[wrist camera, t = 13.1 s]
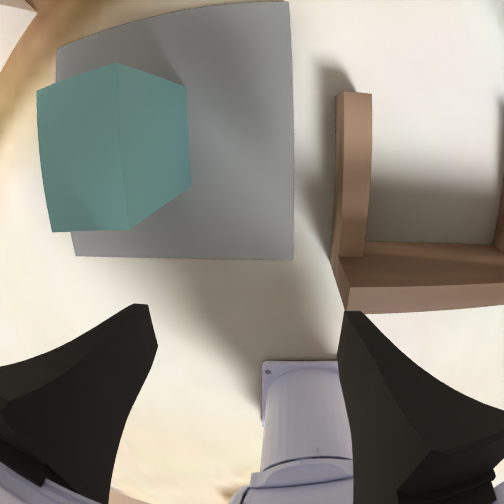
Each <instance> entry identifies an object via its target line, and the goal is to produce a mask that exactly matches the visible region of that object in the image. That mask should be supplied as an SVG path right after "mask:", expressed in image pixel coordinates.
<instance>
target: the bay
mask: <svg viewBox="0 0 504 504" xmlns="http://www.w3.org/2000/svg"><path fill="white" fill-rule="evenodd" d="M335 115H336V147H335V188H334V210H333V227H332V242H331V255H330V264H331V267H332V270H333V273H334V277H335V280H336V283H337V286H338V289H339V292H340V296H341V299H342V302H343V305H344V309H345V311H362V312H363V313H364V314H382V313H405V312H424V311H439V310H452V309H464V308H476V307H486V306H495V305H504V181H503V190H502V197H501V204H500V210H499V216H498V222H497V227H496V232H495V237H494V242H493V245H482V244H450V243H413V242H368V241H365V239H366V230H367V219H368V208H369V194H370V178H371V155H372V94H368V93H358V92H347V91H343V92H341V93H340V94H338V95H336V96H335Z"/></svg>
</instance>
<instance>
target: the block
mask: <svg viewBox="0 0 504 504" xmlns="http://www.w3.org/2000/svg"><path fill="white" fill-rule="evenodd" d="M37 124H38V140H39V152H40V161H41V170H42V178H43V185H44V191H45V197H46V203H47V209H48V214H49V219H50V224H51V229H52V232H72V231H100V230H130V229H132V228H133V227H134V226H136V225H137V224H138V223H140V222H141V221H142V220H144V219H145V218H147V217H148V216H149V215H151V214H152V213H154V212H155V211H156V210H158V209H159V208H161V207H162V206H163V205H165V204H166V203H168V202H169V201H170V200H172V199H173V198H175V197H176V196H178V195H179V194H181V193H182V192H184V191H185V190H187V189H188V188H190V187H191V174H190V159H189V143H188V124H187V101H186V87H184V86H182V85H179V84H177V83H174V82H171V81H169V80H166V79H164V78H161V77H158V76H155V75H153V74H150V73H147V72H144V71H141V70H138V69H135V68H132V67H129V66H126V65H123V64H120V63H114V64H110V65H107V66H103V67H100V68H97V69H94V70H91V71H88V72H85V73H82V74H79V75H76V76H73V77H70V78H68V79H65V80H62V81H60V82H57V83H55V84H52V85H50V86H47V87H45V88H43V89H40V90H38V91H37Z"/></svg>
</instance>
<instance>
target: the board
mask: <svg viewBox="0 0 504 504" xmlns="http://www.w3.org/2000/svg"><path fill="white" fill-rule="evenodd" d="M114 63H120V64H123V65H126V66H129V67H132V68H135V69H138V70H141V71H144V72H147V73H150V74H153V75H155V76H158V77H161V78H164V79H166V80H169V81H171V82H174V83H177V84H179V85H182V86H184V87H186V101H187V124H188V143H189V159H190V174H191V187H190V188H188V189H187V190H185V191H184V192H182V193H181V194H179V195H178V196H176V197H175V198H173V199H172V200H170V201H169V202H168V203H166V204H165V205H163V206H162V207H161V208H159V209H158V210H156V211H155V212H154V213H152V214H151V215H149V216H148V217H147V218H145V219H144V220H142V221H141V222H140V223H138V224H137V225H136V226H134V227H133V228H132V229H130V230H100V231H72V232H71V237H72V241H73V246H74V250H75V255H76V256H93V257H137V258H188V259H251V260H293V222H294V116H293V77H292V52H291V31H290V14H289V2H250V3H235V4H225V5H215V6H208V7H200V8H194V9H188V10H182V11H177V12H171V13H167V14H162V15H157V16H153V17H149V18H145V19H141V20H137V21H134V22H130V23H126V24H123V25H120V26H116V27H113V28H110V29H107V30H104V31H101V32H98V33H95V34H93V35H90V36H87V37H85V38H82V39H79V40H77V41H74V42H72V43H70V44H67V45H65V46H62V47H60V48H58V49H57V61H56V83H57V82H60V81H62V80H65V79H68V78H70V77H73V76H76V75H79V74H82V73H85V72H88V71H91V70H94V69H97V68H100V67H103V66H107V65H110V64H114Z"/></svg>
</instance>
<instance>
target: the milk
mask: <svg viewBox="0 0 504 504" xmlns="http://www.w3.org/2000/svg"><path fill="white" fill-rule="evenodd" d="M36 14H37V12H36V11H35V10H34V9H33V8H32V7H31V6H30V5H29V4H28V3H27V2H26V1H25V0H0V72H1V70H2V68H3V66H4V64H5V63H6V61H7V59H8V57H9V56H10V54H11V52H12V51H13V49H14V47H15V46H16V44H17V42H18V41H19V39H20V38H21V36H22V35H23V33H24V32H25V30H26V29H27V27H28V26H29V24H30V23H31V21H32V20H33V19H34V17H35V16H36Z"/></svg>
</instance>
